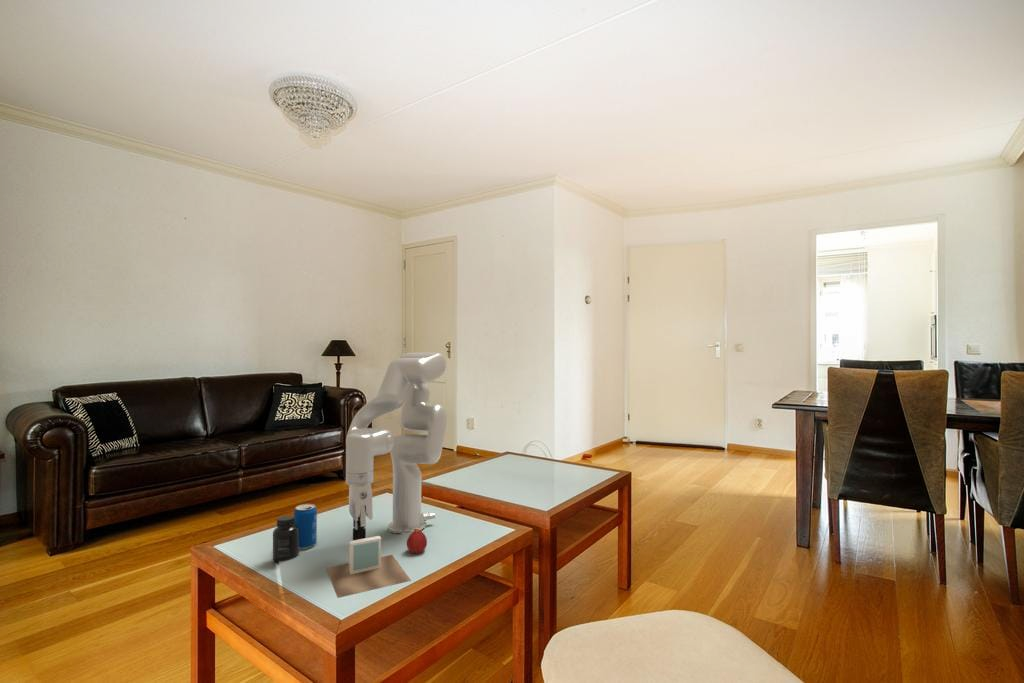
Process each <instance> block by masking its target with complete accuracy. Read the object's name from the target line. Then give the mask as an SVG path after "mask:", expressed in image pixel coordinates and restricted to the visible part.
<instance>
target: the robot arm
mask: <svg viewBox="0 0 1024 683" xmlns="http://www.w3.org/2000/svg"><path fill="white" fill-rule="evenodd" d="M446 361H447V360H446V357H445V356H444V355H443V354H442V353H440V352H405V353H403V354H401V355H400V356H399V358H398V357H397V358H395V359H393V360H391V361H390V363H389V365H388V366H387V369H386V372H385V374H384V377H383V380H382V382H381V384H380V387H379V390H378V393H377V395H376V396H375V397H373V398H372V399H370V400H369V401H368V402H367V403H366V404H365V405H363V406H362V407H361V408H360V409H359V410H358V411H357V413H356V414H355V415H354V416H353V418H352V420H351V422H350V426H349V428H348V430H347V434H346V438H345V447H346V448H345V485H347V486H348V487H349V488H348V492H349V493H348V511H349V515H350V516H351V517H352V526H353V528H352V541H353V540H359V539H364V538H367V536H366V533H367V532H366V530H367V529H366V525H367V524H366V523H367V518H368V520H373V517H374V515H373V514H374V513H373V509H374V508H373V489H372V483H374V479H375V478H374V475H375V474H374V473H375V472H374V471H375V470H374V468H375V467H374V464H375V463H374V462H375V459H374V457H375V456H381V455H386V454H388V453H389V454H390V459H391V462H392V521H391V522H389V523H388V525H387V530H388V532H390V533H392V532H393V534H396V533H406V534H411V533H412V532H414V531H415V530H414V529H416V528H418V529H419V530H421V529H423V528H424V527H425V526H427V522H426V521H427V520H435V519H436V514H435V512H433V513H430V512H423V511H422V472H421V469H420V468H419V466H418V464H423V465H434V464H436V463H438V462H439V460H440V459H441V455H442V450H443V446H444V440H445V434H446V429H447V428H446V427H447V412H446V409H445V407H444V406H443V405H441V404H437V403H429V402H430V395H431V392H430V388H429V386H428V384H429V383H431V382H433V381H435V380H437V379H438V378H440V377H442V376H443V374H444V373H445V371H446V368H447V362H446ZM401 407H402V410H401V415H400V426H401V427H402V429H403V430H406V431H411V432H413V431H414V432H427V434H419V433H417V434H415V433H401V434H398V435H396V436H395V434H394V433H393V432H392V431H391V430H389V429H386V428H375V427H373V428H372V427H369V425H370V424H371V423H372V422H373V421H374V420H377V418H379V417H381V416H383V415H386V414H388V413H391V412H394V411H396V410H398V409H400V408H401ZM425 528H426V527H425ZM425 528H424V529H425ZM424 529H423V530H424ZM421 531H422V530H421Z"/></svg>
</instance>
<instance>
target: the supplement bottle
mask: <svg viewBox="0 0 1024 683" xmlns="http://www.w3.org/2000/svg"><path fill="white" fill-rule="evenodd" d="M294 524H295V516H294V515H282V516H280V517H277V519H276V527H275V528H274V529H273V532H272V562H273V563H274V564H276V565H280V562H283V561H285V562H286V561H290V560H293V559H295V558H297V557H299V555H300V552H299V551H300V549H299V528H298V527H297V526H296V525H294Z"/></svg>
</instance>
